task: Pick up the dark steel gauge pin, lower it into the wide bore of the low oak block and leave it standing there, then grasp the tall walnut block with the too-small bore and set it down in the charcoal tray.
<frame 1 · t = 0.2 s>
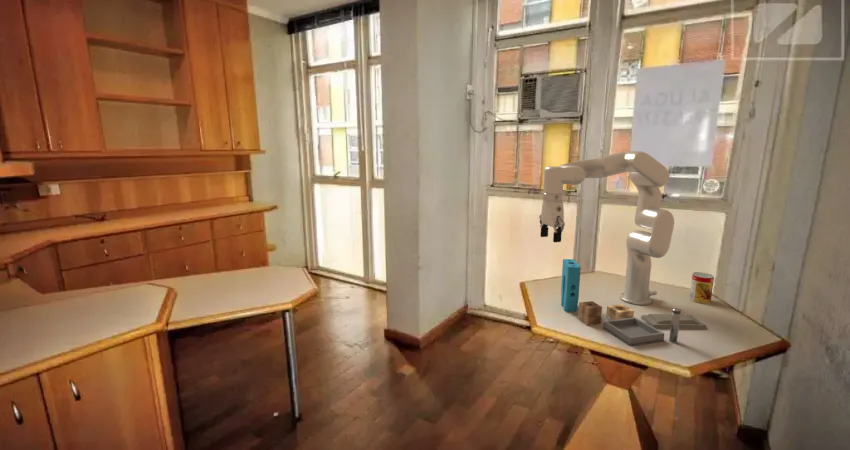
hand: (550, 239, 162), 31 cm above the table, tool pointing down, fingers open, 9 cm apart
block: (568, 308, 171), on the table
soap mold: (672, 325, 155), on the table
canned food: (699, 300, 177), on the table
gauge pin: (672, 341, 141), on the table
walnut block: (589, 321, 157), on the table
oak block: (619, 317, 161), on the table
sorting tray: (632, 334, 146), on the table
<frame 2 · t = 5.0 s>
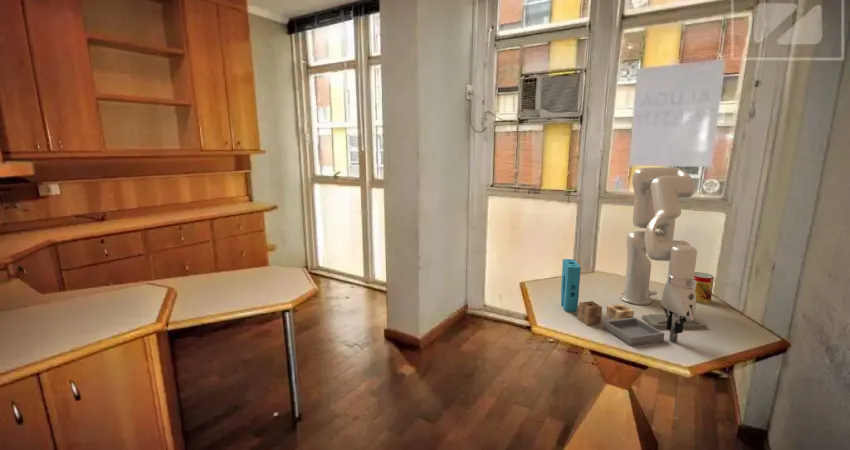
hand: (674, 330, 140), 4 cm above the table, tool pointing down, fingers closed on gauge pin, 2 cm apart
gauge pin: (672, 341, 141), on the table, touching gripper
everything else where it was.
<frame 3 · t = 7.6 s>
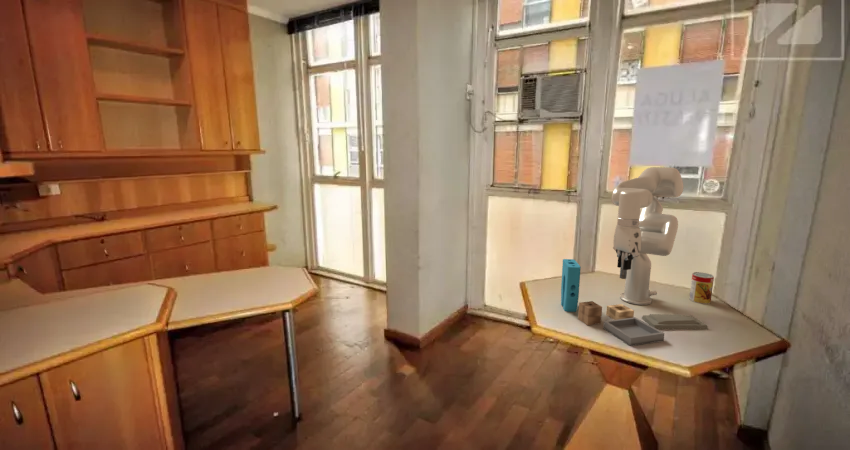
hand: (624, 267, 157), 21 cm above the table, tool pointing down, fingers closed on gauge pin
gauge pin: (622, 277, 157), point 17 cm above the table, touching gripper
everything else where it was.
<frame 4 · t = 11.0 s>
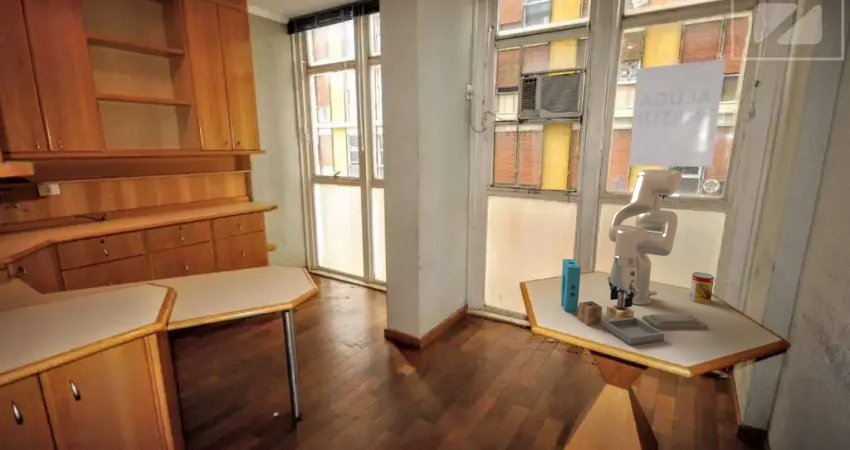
hand: (620, 302, 159), 6 cm above the table, tool pointing down, fingers open, 7 cm apart
gauge pin: (619, 317, 161), resting in oak block
everything else where it was.
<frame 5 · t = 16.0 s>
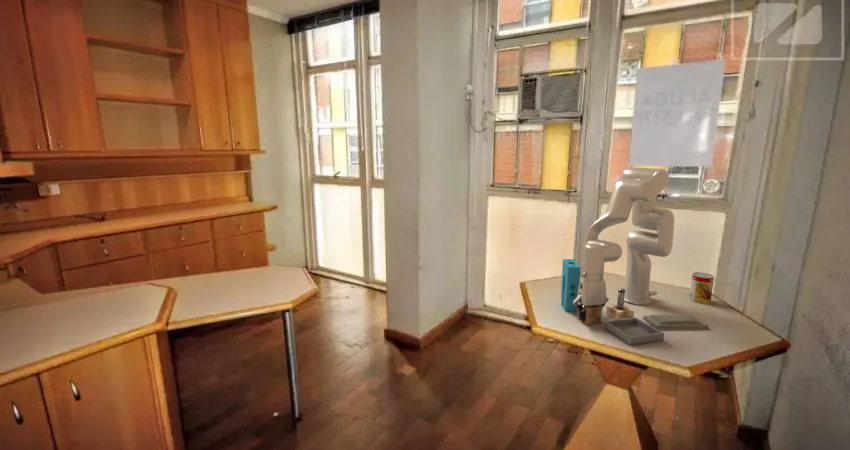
hand: (589, 318, 157), 1 cm above the table, tool pointing down, fingers closed on walnut block, 6 cm apart
walnut block: (589, 321, 157), on the table, touching gripper
everything else where it was.
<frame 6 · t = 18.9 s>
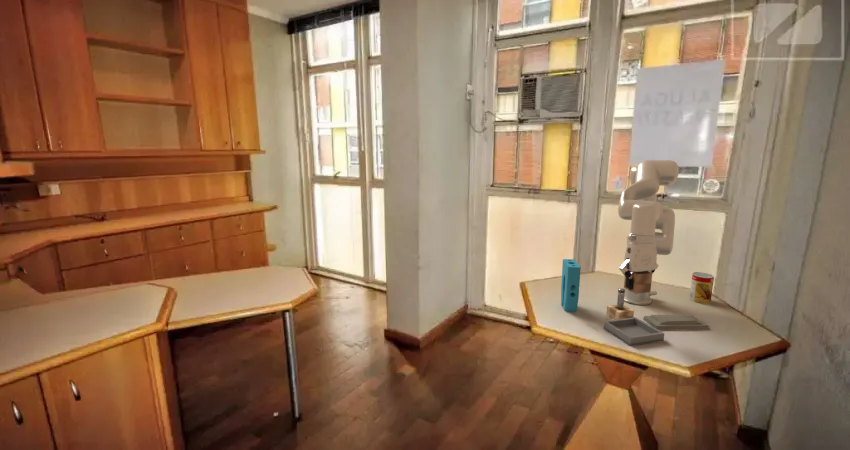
hand: (637, 287, 142), 18 cm above the table, tool pointing down, fingers closed on walnut block, 6 cm apart
walnut block: (636, 290, 143), point 17 cm above the table, touching gripper
everything else where it was.
when the fingers open (3 cm above the table, at t = 21.9 s): walnut block drops 2 cm, resting on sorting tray.
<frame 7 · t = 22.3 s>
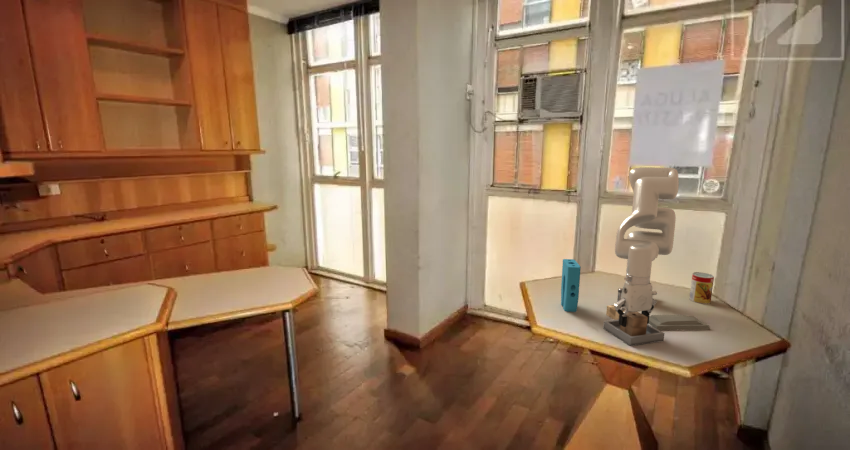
hand: (633, 323, 145), 4 cm above the table, tool pointing down, fingers open, 9 cm apart
walnut block: (632, 332, 146), point 1 cm above the table, touching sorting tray
everything else where it was.
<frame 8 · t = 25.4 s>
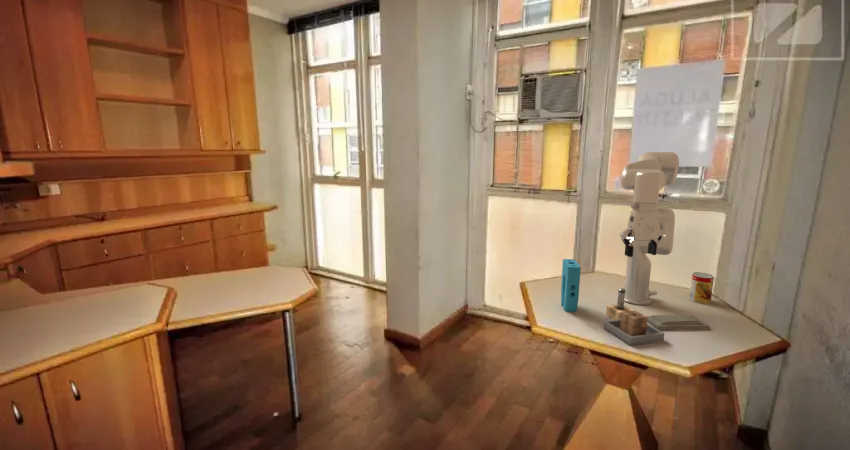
hand: (640, 255, 140), 30 cm above the table, tool pointing down, fingers open, 9 cm apart
at the end: walnut block inside the target area on the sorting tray (0.1 cm from its centre), point 0.8 cm above the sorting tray's base; gauge pin 0.1 cm from the oak block (horizontally); the gripper is holding nothing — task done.
